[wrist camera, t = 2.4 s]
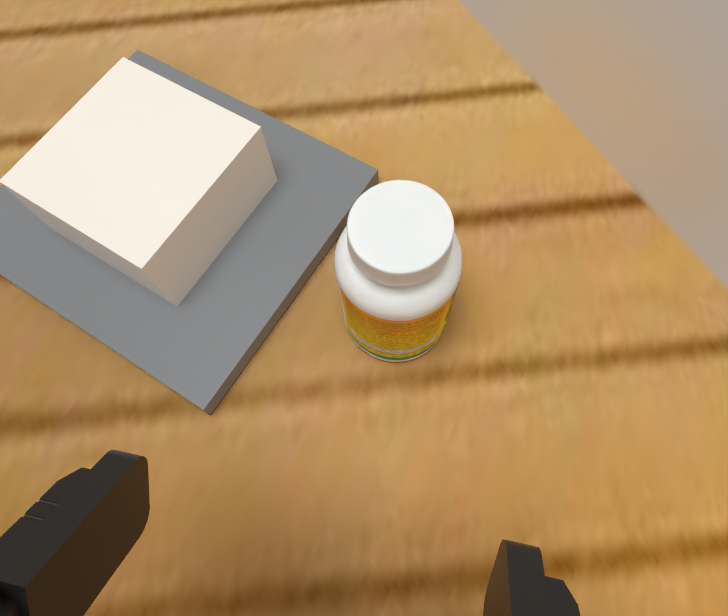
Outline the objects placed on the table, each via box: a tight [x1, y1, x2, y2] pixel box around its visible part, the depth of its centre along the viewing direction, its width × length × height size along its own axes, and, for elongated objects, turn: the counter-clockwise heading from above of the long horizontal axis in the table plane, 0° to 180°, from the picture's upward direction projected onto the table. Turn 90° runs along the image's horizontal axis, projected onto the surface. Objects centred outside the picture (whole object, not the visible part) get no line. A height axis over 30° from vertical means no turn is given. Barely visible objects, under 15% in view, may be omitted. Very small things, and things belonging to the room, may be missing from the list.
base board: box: [0, 50, 378, 415], centre depth 32 cm, size 18×16×1 cm
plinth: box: [0, 57, 278, 307], centre depth 29 cm, size 9×9×4 cm
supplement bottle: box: [335, 180, 462, 362], centre depth 25 cm, size 5×5×10 cm
